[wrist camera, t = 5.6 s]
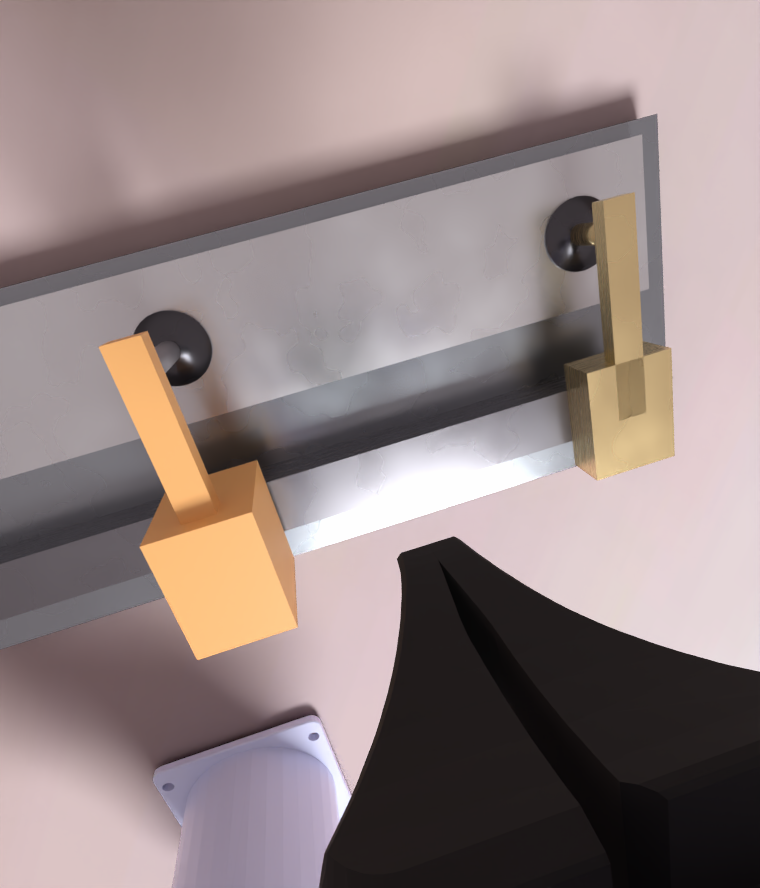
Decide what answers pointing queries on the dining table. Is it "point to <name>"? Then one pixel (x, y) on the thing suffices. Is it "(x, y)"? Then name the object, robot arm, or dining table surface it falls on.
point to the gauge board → (343, 364)
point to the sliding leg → (204, 517)
